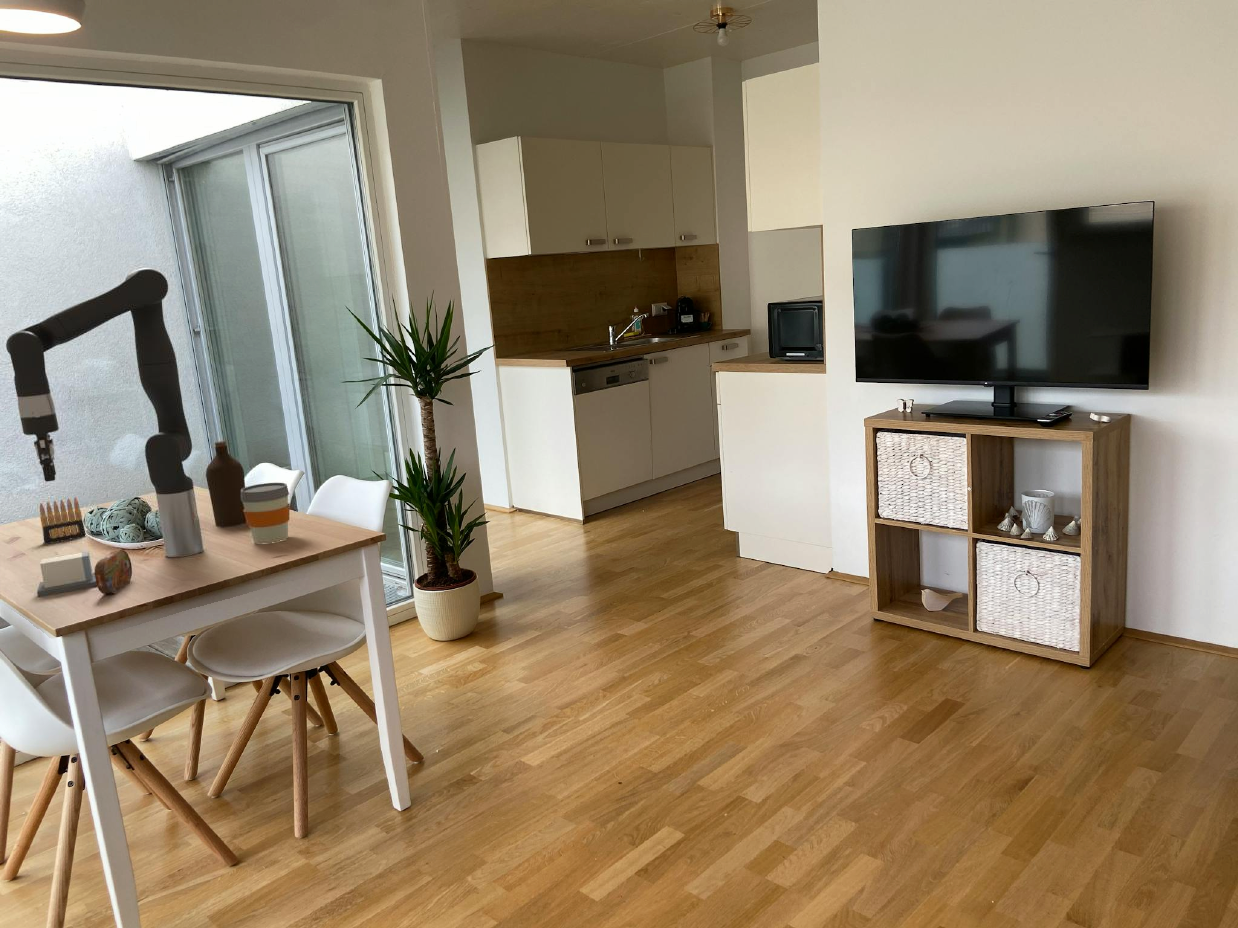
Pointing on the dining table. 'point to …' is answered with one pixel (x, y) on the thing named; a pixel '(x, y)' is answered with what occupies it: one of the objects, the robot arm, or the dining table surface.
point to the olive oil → (226, 487)
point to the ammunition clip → (61, 522)
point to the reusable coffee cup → (266, 511)
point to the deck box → (66, 569)
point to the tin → (113, 572)
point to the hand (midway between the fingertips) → (50, 478)
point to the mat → (65, 587)
